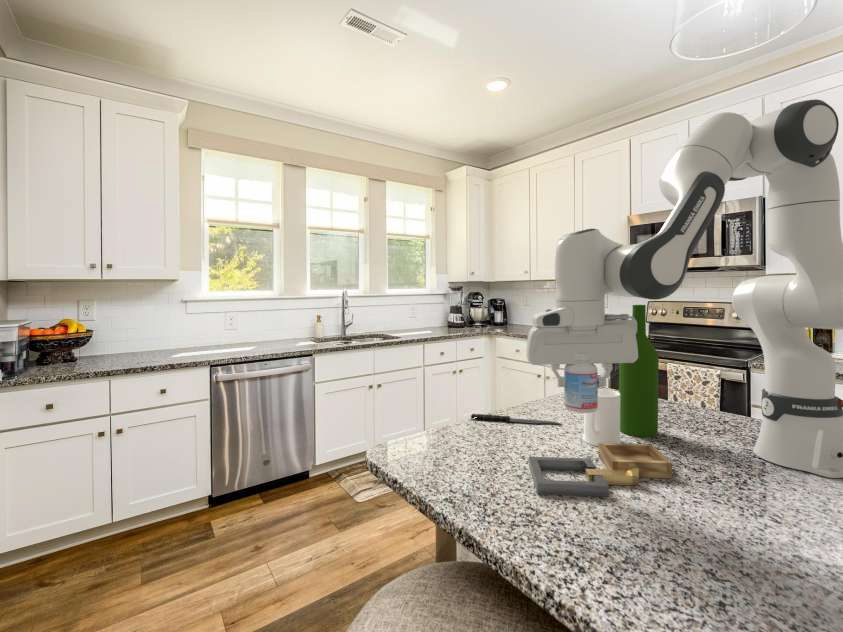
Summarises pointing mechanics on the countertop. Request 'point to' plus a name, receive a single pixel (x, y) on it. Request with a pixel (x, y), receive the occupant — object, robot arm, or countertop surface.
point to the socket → (566, 487)
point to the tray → (635, 459)
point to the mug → (604, 420)
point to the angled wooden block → (615, 475)
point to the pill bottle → (581, 385)
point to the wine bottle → (640, 385)
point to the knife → (508, 419)
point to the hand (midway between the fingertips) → (581, 386)
